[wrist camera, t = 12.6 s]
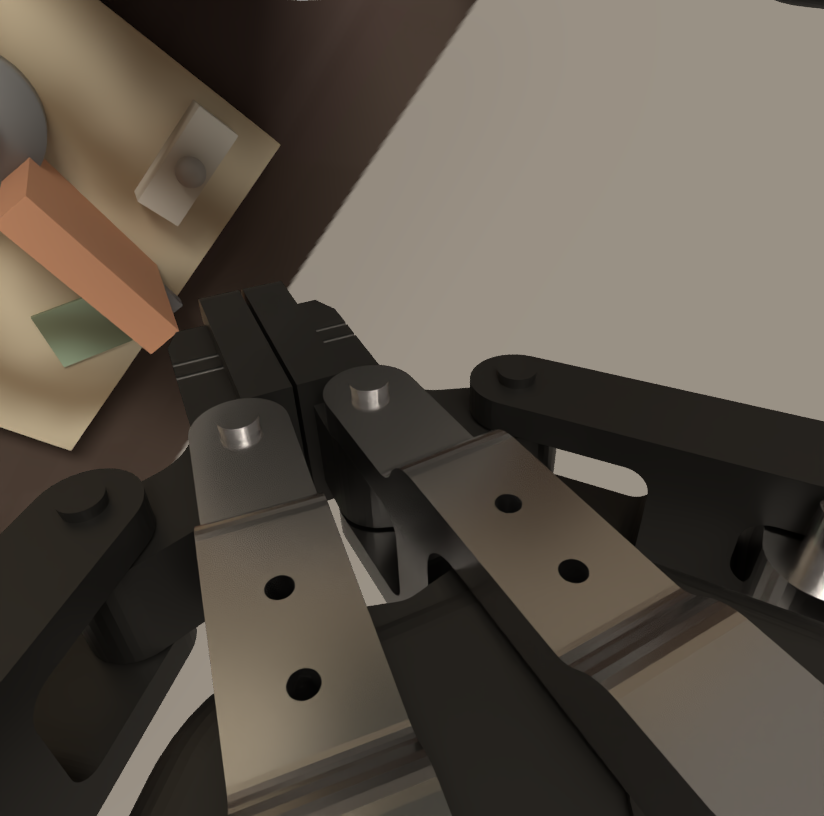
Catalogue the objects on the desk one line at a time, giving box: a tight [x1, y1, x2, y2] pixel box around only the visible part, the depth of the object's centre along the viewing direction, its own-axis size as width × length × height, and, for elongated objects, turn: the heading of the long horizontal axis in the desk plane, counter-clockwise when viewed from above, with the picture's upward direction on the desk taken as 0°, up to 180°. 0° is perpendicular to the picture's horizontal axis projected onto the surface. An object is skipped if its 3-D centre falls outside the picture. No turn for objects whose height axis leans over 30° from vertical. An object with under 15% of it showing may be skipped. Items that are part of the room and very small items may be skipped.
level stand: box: [0, 0, 280, 451], centre depth 35 cm, size 24×18×6 cm
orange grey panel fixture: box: [0, 55, 183, 354], centre depth 31 cm, size 19×6×9 cm, turn 33°
